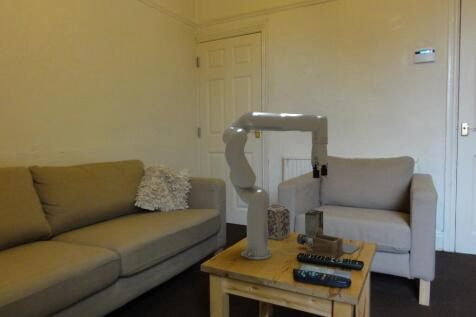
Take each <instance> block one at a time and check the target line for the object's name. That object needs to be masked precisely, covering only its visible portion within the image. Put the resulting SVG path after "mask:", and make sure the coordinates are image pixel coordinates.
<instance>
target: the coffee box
mask: <svg viewBox="0 0 476 317" xmlns="http://www.w3.org/2000/svg"><path fill="white" fill-rule="evenodd" d="M320 234H322V235H324V211H323V210H318V209H317V210H316V209H311V210H309V211H307V212H305V213H304V235H306V237H309V238H314V237H315V238H319V235H320ZM304 245H306V246H307V245H308V246H310V247H312V246H313V245H311V244H307V243H305V244H304Z"/></svg>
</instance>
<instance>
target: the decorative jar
mask: <svg viewBox="0 0 476 317" xmlns="http://www.w3.org/2000/svg"><path fill="white" fill-rule="evenodd" d="M290 215H291V212H290V211H289V209H288V208H287V207H286V206H283V205H281V203H278V202H277V203H276V202H275V203H274V202H273V203H271V205H269V206H268V239H270V240H275V241H282V240H283V239H285V238H288V237H290V236H291V216H290Z"/></svg>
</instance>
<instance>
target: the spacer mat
mask: <svg viewBox="0 0 476 317" xmlns="http://www.w3.org/2000/svg"><path fill="white" fill-rule="evenodd" d="M359 249H361V246H359V245H354V244H349V243H343V254H346V255H352V254H354V253H355V252H356V251H358V250H359Z"/></svg>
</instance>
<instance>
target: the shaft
mask: <svg viewBox="0 0 476 317" xmlns="http://www.w3.org/2000/svg"><path fill="white" fill-rule="evenodd" d="M296 243H297V244H298V245H303V246H304V245H306V244H305V243H307V244H311V245H313V238H309V237H306V235H305V233H304V234H303V233H299V234H298V235H297V238H296ZM311 245H310V246H311Z"/></svg>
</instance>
